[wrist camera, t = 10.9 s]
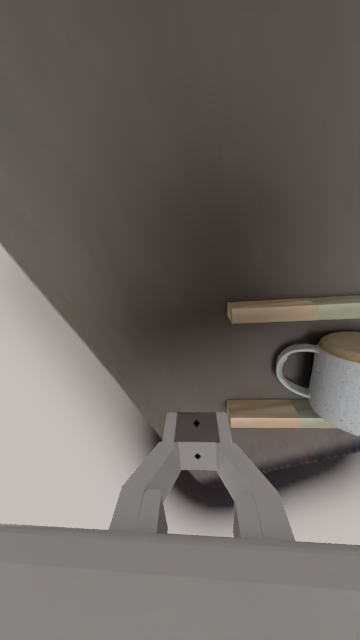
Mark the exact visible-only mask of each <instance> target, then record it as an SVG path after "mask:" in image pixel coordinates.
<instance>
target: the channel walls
mask: <svg viewBox="0 0 360 640" xmlns="http://www.w3.org/2000/svg"><path fill="white" fill-rule="evenodd" d="M227 316H228V317H229V319H230V321H231V323H232V324H239V323H262V322H285V321H308V320H330V319H353V318H360V295H352V296H334V297H316V298H297V299H279V300H260V301H242V302H227ZM227 413H228V418H229V422H230V427H237V428H337V427H336V426H333V425H332V424H330V423H329V422H327V421H326V420H324V419H323V418H322V417H320V416H319V415H318V414H317V413H316V412H315V411H314V410H313V408H312V407H311V405H310V403H309V401H308V399H272V400H227Z"/></svg>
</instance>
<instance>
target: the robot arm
mask: <svg viewBox="0 0 360 640" xmlns="http://www.w3.org/2000/svg"><path fill="white" fill-rule="evenodd" d="M181 470H213V471H217V473H218V474H219V476H220V478H221V479H222V481H223V483H224V484H225V486H226V488H227V489H228V491H229V493H230V495H231V496H232V498H233V500H234V503H235V504H234V524H233V534H234V538H231V537H213V536H198V535H181V534H167V530H168V527H167V522H166V516H165V511H164V505H163V502H164V500H165V499H166V497H167V495H168V493H169V491H170V489H171V488H172V486H173V484H174V482H175V480H176V479H177V477H178V475H179V473H180V471H181ZM0 640H360V545H346V544H330V543H328V544H327V543H314V542H296V541H295V539H294V536H293V533H292V530H291V527H290V524H289V521H288V518H287V516H286V513H285V510H284V507H283V504H282V501H281V498H280V495H279V493H278V492H277V490H276V489H275V488H274V487H273V486H272V485H271V483H270V482H269V481H268V480H267V479H266V478H265V477H264V476H263V474H262V473H261V472H260V471H259V470H258V468H257V467H256V466H255V465H254V464H253V463H252V461H251V460H250V459H249V458H248V457H247V456H246V455H245V453H244V452H243V451H242V450H241V449H240V448H239V446H238V445H237V444H236V443H232V438H231V433H230V428H229V423H228V418H227V413H226V412H196V413H192V412H168V413H167V416H166V422H165V428H164V434H163V440H162V442H159V443H158V444H157V446H156V447H155V448H154V449H153V450H152V452H151V453H150V454H149V455H148V456H147V458H146V459H145V460H144V461H143V462H142V464H141V465H140V466H139V467H138V468H137V469H136V471H135V472H134V473H133V474H132V475H131V477H130V478H129V479H128V480H127V481H126V483H125V484H124V485H123V486H122V489H121V492H120V495H119V498H118V502H117V505H116V508H115V511H114V515H113V518H112V521H111V524H110V528H109V530H98V529H82V528H81V529H80V528H65V527H48V526H32V525H15V524H0Z"/></svg>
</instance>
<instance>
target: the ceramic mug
mask: <svg viewBox="0 0 360 640" xmlns="http://www.w3.org/2000/svg"><path fill="white" fill-rule="evenodd" d="M296 352H315V354H314V362H313V369H312V374H311V379H310V384H309V388H304V387H301V386H299V385H296V384H294V383H292V382H290V381H289V380H287V379H286V378H285V377H284V376H283V374H282V367H283V363H284V362H285V361H286V360H287V357H288V356H289V355H290V354H292V353H296ZM276 375H277V377H278V379H279V381H280V382H281V383H282V384H283V385H284V386H285V387H286V388H288V389H289V390H291V391H293V392H294V393H297V394H299V395H301V396H304V397H307V398H308V401H309V403H310V405H311V407H312V408H313V410H314V411H315V412H316V413H317V414H318V415H319V416H320V417H322V418H323V419H324V420H326V421H327V422H329V423H330V424H332V425H333V426H336V427H337V428H339V429H341V430H344V431H346V432H348V433H351V434H354V435H357V436H360V332H347V331H345V332H335V333H330V334H327V335H325V336H324V337H322V338H321V339H320V341H319V343H318V344H317V345H310V344H299V345H293V346H289V347H287V348H285V349H284V350H283V351H282V352H281V353H280V354H279V356H278V358H277V362H276Z"/></svg>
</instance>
